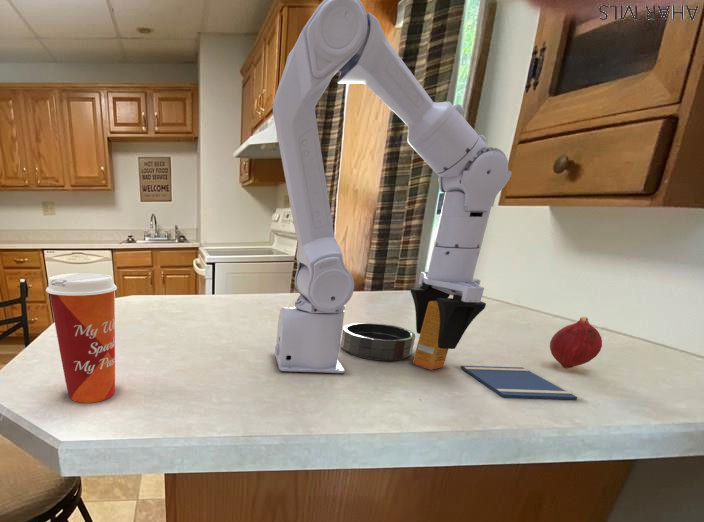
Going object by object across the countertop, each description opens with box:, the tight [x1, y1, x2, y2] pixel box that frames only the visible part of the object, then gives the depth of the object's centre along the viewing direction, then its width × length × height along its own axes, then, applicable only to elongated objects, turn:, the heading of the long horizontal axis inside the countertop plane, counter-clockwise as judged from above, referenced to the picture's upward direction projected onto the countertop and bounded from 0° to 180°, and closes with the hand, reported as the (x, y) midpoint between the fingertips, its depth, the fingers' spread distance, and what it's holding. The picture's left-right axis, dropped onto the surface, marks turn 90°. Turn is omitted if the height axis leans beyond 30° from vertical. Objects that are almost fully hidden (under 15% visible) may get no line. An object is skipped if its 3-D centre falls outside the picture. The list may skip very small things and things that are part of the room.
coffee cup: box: [45, 272, 118, 404], centre depth 53 cm, size 8×8×15 cm
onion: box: [549, 316, 603, 369], centre depth 64 cm, size 6×6×8 cm
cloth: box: [460, 365, 578, 401], centre depth 60 cm, size 9×11×1 cm
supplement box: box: [412, 301, 449, 371], centre depth 64 cm, size 3×3×10 cm
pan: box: [340, 322, 416, 362], centre depth 72 cm, size 11×11×4 cm
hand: (434, 340), depth 64 cm, fingers open, 7 cm apart
